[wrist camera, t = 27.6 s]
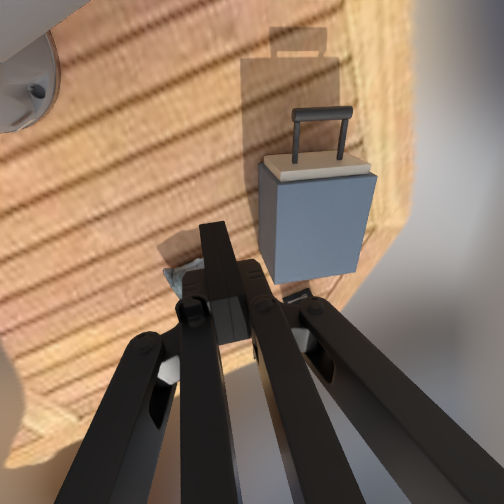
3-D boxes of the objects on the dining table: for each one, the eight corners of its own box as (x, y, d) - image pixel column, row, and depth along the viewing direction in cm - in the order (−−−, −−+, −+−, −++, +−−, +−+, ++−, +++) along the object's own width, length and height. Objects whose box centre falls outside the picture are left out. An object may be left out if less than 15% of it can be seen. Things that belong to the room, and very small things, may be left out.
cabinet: (258, 162, 39) (277, 185, 31) (340, 156, 41) (377, 175, 33) (258, 249, 47) (274, 285, 39) (327, 240, 49) (355, 272, 41)
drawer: (264, 105, 35) (282, 112, 28) (347, 101, 37) (383, 107, 30) (263, 240, 45) (277, 267, 39) (328, 232, 47) (351, 256, 41)
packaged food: (212, 242, 45) (215, 259, 40) (236, 293, 51) (240, 312, 47) (161, 261, 45) (159, 280, 40) (192, 309, 51) (192, 330, 47)
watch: (306, 281, 53) (332, 323, 44) (314, 308, 58) (338, 351, 49) (279, 291, 53) (299, 336, 44) (289, 318, 58) (309, 363, 49)
